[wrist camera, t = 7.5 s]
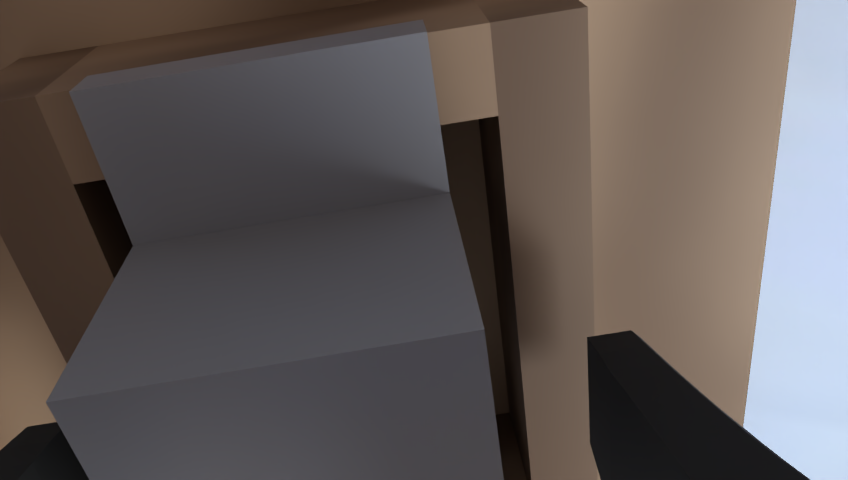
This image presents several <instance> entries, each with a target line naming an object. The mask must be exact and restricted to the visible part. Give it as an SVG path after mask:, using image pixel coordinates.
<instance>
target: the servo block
mask: <svg viewBox="0 0 848 480" xmlns="http://www.w3.org/2000/svg"><path fill="white" fill-rule="evenodd" d="M69 93H70V96H71V98H72V101H73V103H74V105H75V108H76V110H77V113H78V115H79V117H80V120H81V122H82V125H83V127H84V129H85V132H86V134H87V137H88V139H89V141H90V144H91V146H92V149H93V151H94V153H95V156H96V158H97V161H98V163H99V165H100V168H101V170H102V173H103V175H104V177H105V180H106V182H107V185H108V187H109V190H110V192H111V194H112V197H113V199H114V202H115V204H116V206H117V209H118V211H119V214H120V216H121V218H122V221H123V223H124V226H125V228H126V230H127V233H128V235H129V238H130V240H131V242H132V245H133V247H132V248H131V250H130V252H129V254H128V256H127V257H126V259H125V261H124V263H123V265H122V266H121V268H120V270H119V272H118V274H117V275H116V277H115V279H114V281H113V283H112V284H111V286H110V288H109V290H108V291H107V293H106V295H105V297H104V299H103V300H102V302H101V304H100V306H99V308H98V309H97V311H96V313H95V315H94V317H93V318H92V320H91V322H90V324H89V326H88V327H87V329H86V331H85V333H84V335H83V336H82V338H81V340H80V342H79V344H78V345H77V347H76V349H75V351H74V353H73V354H72V356H71V358H70V360H69V361H68V363H67V365H66V367H65V369H64V370H63V372H62V374H61V376H60V378H59V379H58V381H57V383H56V385H55V387H54V388H53V390H52V392H51V394H50V396H49V397H48V399H47V401H46V404H47V405H48V407H49V409H50V411H51V413H52V414H53V416H54V418H55V420H56V421H57V423H58V425H59V427H60V428H61V430H62V432H63V434H64V436H65V437H66V439H67V441H68V443H69V444H70V446H71V448H72V450H73V452H74V453H75V455H76V457H77V459H78V460H79V462H80V464H81V466H82V467H83V469H84V471H85V473H86V475H87V476H88V478H89V480H504V477H503V470H502V462H501V454H500V446H499V439H498V431H497V423H496V415H495V407H494V400H493V392H492V384H491V376H490V368H489V361H488V353H487V345H486V337H485V329H484V325H483V322H482V318H481V314H480V310H479V306H478V302H477V298H476V294H475V290H474V286H473V282H472V278H471V274H470V270H469V266H468V262H467V258H466V255H465V251H464V247H463V243H462V239H461V235H460V231H459V227H458V223H457V219H456V215H455V211H454V207H453V203H452V199H451V195H450V190H449V183H448V176H447V169H446V162H445V155H444V148H443V141H442V134H441V127H440V120H439V113H438V106H437V99H436V92H435V85H434V78H433V71H432V64H431V57H430V50H429V43H428V36H427V30H426V27H425V25H424V22H423V19H422V20H416V21H410V22H404V23H398V24H392V25H386V26H380V27H374V28H369V29H363V30H357V31H351V32H345V33H339V34H333V35H327V36H321V37H315V38H309V39H303V40H297V41H291V42H285V43H279V44H273V45H268V46H262V47H256V48H250V49H244V50H238V51H232V52H226V53H220V54H214V55H208V56H202V57H196V58H190V59H184V60H178V61H173V62H167V63H161V64H155V65H149V66H143V67H137V68H131V69H125V70H119V71H113V72H107V73H101V74H95V75H89V76H86V77H85V78H84V79H83V80H82V81H81V82H80V83H78V84H77V85H76V86H75V87H74V88H73V89H72V90H70V91H69Z"/></svg>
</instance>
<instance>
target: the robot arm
mask: <svg viewBox="0 0 848 480" xmlns="http://www.w3.org/2000/svg"><path fill="white" fill-rule="evenodd" d="M587 354H588V391H589V428H590V445H591V448H592V452H593V455H594V458H595V462H596V465H597V468H598V472H599V475H600V479H601V480H810V479H809V478H807V477H806V476H805V475H803V474H802V473H800V472H799V471H798V470H796V469H795V468H794V467H792V466H791V465H790V464H788V463H787V462H786V461H784V460H783V459H782V458H781V457H779V456H778V455H777V454H775V453H774V452H773V451H772V450H770V449H769V448H768V447H766V446H765V445H764V444H763V443H761V442H760V441H759V440H758V439H756V438H755V437H754V436H753V435H752V434H750V433H749V432H748V431H747V430H745V429H744V428H743V427H742V426H741V425H739V424H738V423H737V422H736V421H734V420H733V419H732V418H731V417H730V416H728V415H727V414H726V413H725V412H723V411H722V410H721V409H720V408H719V407H718V406H716V405H715V404H714V403H713V402H712V401H710V400H709V399H708V398H707V397H706V396H705V395H704V394H702V393H701V392H700V391H699V390H698V389H697V388H696V387H694V386H693V385H692V384H691V383H690V382H689V381H688V380H686V379H685V378H684V377H683V376H682V375H681V374H680V373H679V372H678V371H676V370H675V369H674V368H673V367H672V366H671V365H670V364H669V363H668V362H666V361H665V360H664V359H663V358H662V357H661V356H660V355H659V354H658V353H657V352H656V351H654V350H653V349H652V348H651V347H650V346H649V345H648V344H647V343H646V342H645V341H644V340H643V339H641V338H640V337H639V336H638V335H637V334H635V333H634V332H633V331H631V330H629V331H623V332H616V333H610V334H604V335H598V336H591V337H587ZM0 480H89V478H88V476H87V475H86V473H85V471H84V469H83V467H82V466H81V464H80V462H79V460H78V459H77V457H76V455H75V453H74V452H73V450H72V448H71V446H70V444H69V443H68V441H67V439H66V437H65V436H64V434H63V432H62V430H61V428H60V427H59V425H58V423H57V422H53V423H47V424H41V425H34V426H28V427H26V428H25V429H24V430H23V431H22V432H21V433H19V434H18V435H17V436H16V437H15V438H14V439H12V440H11V441H10V442H9V443H8V444H7V445H6V446H5V447H3V448H2V449H1V450H0Z"/></svg>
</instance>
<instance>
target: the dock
mask: <svg viewBox="0 0 848 480" xmlns="http://www.w3.org/2000/svg"><path fill="white" fill-rule="evenodd" d="M795 6H796V0H0V450H1V449H2V448H3V447H5V446H6V445H7V444H8V443H9V442H10V441H11V440H12V439H14V438H15V437H16V436H17V435H18V434H19V433H21V432H22V431H23V430H24V429H25V428H26V427H28V426H34V425H41V424H47V423H53V422H57V421H56V420H55V418H54V416H53V414H52V413H51V411H50V409H49V407H48V405H47V404H46V401H47V399H48V397H49V396H50V394H51V392H52V390H53V388H54V387H55V385H56V383H57V381H58V379H59V378H60V376H61V374H62V372H63V370H64V369H65V367H66V365H67V363H68V361H69V360H70V358H71V356H72V354H73V353H74V351H75V349H76V347H77V345H78V344H79V342H80V340H81V338H82V336H83V335H84V333H85V331H86V329H87V327H88V326H89V324H90V322H91V320H92V318H93V317H94V315H95V313H96V311H97V309H98V308H99V306H100V304H101V302H102V300H103V299H104V297H105V295H106V293H107V291H108V290H109V288H110V286H111V284H112V283H113V281H114V279H115V277H116V275H117V274H118V272H119V270H120V268H121V266H122V265H123V263H124V261H125V259H126V257H127V256H128V254H129V252H130V250H131V248H132V247H133V245H132V242H131V240H130V238H129V235H128V233H127V230H126V228H125V226H124V223H123V221H122V218H121V216H120V214H119V211H118V209H117V206H116V204H115V202H114V199H113V197H112V194H111V192H110V190H109V187H108V185H107V182H106V180H105V177H104V175H103V173H102V170H101V168H100V165H99V163H98V161H97V158H96V156H95V153H94V151H93V149H92V146H91V144H90V141H89V139H88V137H87V134H86V132H85V129H84V127H83V125H82V122H81V120H80V117H79V115H78V113H77V110H76V108H75V105H74V103H73V101H72V98H71V96H70V93H69V91H70V90H72V89H73V88H74V87H75V86H76V85H77V84H78V83H80V82H81V81H82V80H83V79H84V78H85V77H86V76H89V75H95V74H101V73H107V72H113V71H119V70H125V69H131V68H137V67H143V66H149V65H155V64H161V63H167V62H173V61H178V60H184V59H190V58H196V57H202V56H208V55H214V54H220V53H226V52H232V51H238V50H244V49H250V48H256V47H262V46H268V45H273V44H279V43H285V42H291V41H297V40H303V39H309V38H315V37H321V36H327V35H333V34H339V33H345V32H351V31H357V30H363V29H369V28H374V27H380V26H386V25H392V24H398V23H404V22H410V21H416V20H422V19H423V22H424V25H425V27H426V30H427V36H428V43H429V50H430V57H431V64H432V71H433V78H434V85H435V92H436V99H437V106H438V113H439V120H440V127H441V134H442V141H443V148H444V155H445V162H446V169H447V176H448V183H449V190H450V195H451V199H452V203H453V207H454V211H455V215H456V219H457V223H458V227H459V231H460V235H461V239H462V243H463V247H464V251H465V255H466V258H467V262H468V266H469V270H470V274H471V278H472V282H473V286H474V290H475V294H476V298H477V302H478V306H479V310H480V314H481V318H482V322H483V325H484V329H485V337H486V345H487V353H488V361H489V368H490V376H491V384H492V392H493V400H494V407H495V415H496V423H497V431H498V439H499V446H500V454H501V462H502V470H503V477H504V480H601V479H600V475H599V472H598V468H597V465H596V462H595V458H594V455H593V452H592V448H591V445H590V428H589V391H588V354H587V337H591V336H598V335H604V334H610V333H616V332H623V331H629V330H631V331H633V332H634V333H635V334H637V335H638V336H639V337H640V338H641V339H643V340H644V341H645V342H646V343H647V344H648V345H649V346H650V347H651V348H652V349H653V350H654V351H656V352H657V353H658V354H659V355H660V356H661V357H662V358H663V359H664V360H665V361H666V362H668V363H669V364H670V365H671V366H672V367H673V368H674V369H675V370H676V371H678V372H679V373H680V374H681V375H682V376H683V377H684V378H685V379H686V380H688V381H689V382H690V383H691V384H692V385H693V386H694V387H696V388H697V389H698V390H699V391H700V392H701V393H702V394H704V395H705V396H706V397H707V398H708V399H709V400H710V401H712V402H713V403H714V404H715V405H716V406H718V407H719V408H720V409H721V410H722V411H723V412H725V413H726V414H727V415H728V416H730V417H731V418H732V419H733V420H734V421H736V422H737V423H738V424H739V425H741V426H742V427H743V422H744V414H745V406H746V398H747V390H748V382H749V374H750V366H751V358H752V350H753V342H754V334H755V326H756V318H757V310H758V302H759V294H760V286H761V278H762V270H763V262H764V254H765V246H766V238H767V230H768V222H769V214H770V206H771V198H772V190H773V182H774V174H775V166H776V158H777V150H778V142H779V134H780V126H781V118H782V110H783V102H784V94H785V86H786V78H787V70H788V62H789V54H790V46H791V38H792V30H793V22H794V14H795Z"/></svg>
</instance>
